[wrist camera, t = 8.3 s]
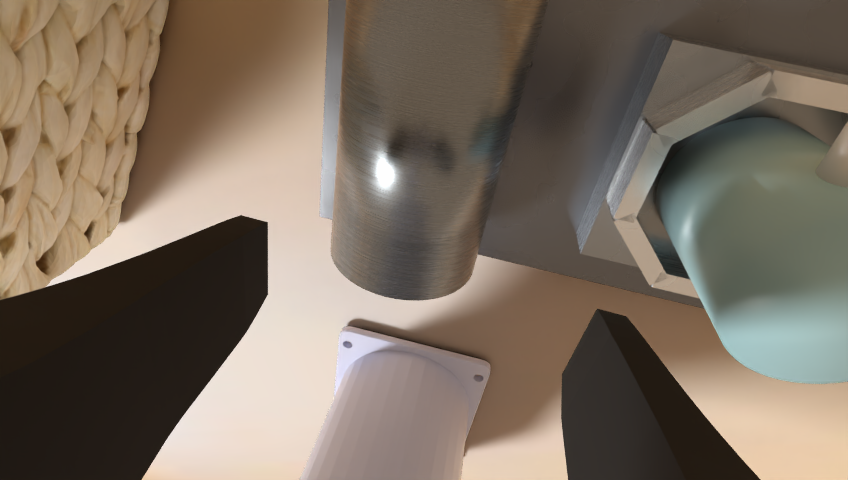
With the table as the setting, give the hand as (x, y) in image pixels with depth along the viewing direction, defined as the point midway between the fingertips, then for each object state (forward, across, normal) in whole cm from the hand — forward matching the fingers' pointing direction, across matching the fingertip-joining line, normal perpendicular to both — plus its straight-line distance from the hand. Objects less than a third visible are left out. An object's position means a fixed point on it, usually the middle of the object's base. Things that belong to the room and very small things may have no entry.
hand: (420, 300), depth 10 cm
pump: (+6, -8, -2) cm, 11 cm away
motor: (+9, -4, -2) cm, 10 cm away
